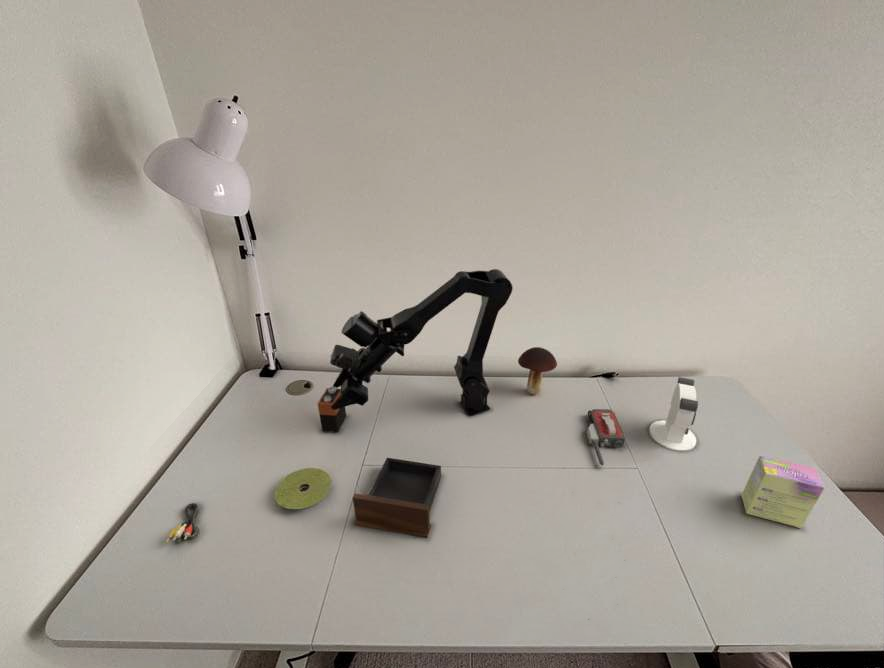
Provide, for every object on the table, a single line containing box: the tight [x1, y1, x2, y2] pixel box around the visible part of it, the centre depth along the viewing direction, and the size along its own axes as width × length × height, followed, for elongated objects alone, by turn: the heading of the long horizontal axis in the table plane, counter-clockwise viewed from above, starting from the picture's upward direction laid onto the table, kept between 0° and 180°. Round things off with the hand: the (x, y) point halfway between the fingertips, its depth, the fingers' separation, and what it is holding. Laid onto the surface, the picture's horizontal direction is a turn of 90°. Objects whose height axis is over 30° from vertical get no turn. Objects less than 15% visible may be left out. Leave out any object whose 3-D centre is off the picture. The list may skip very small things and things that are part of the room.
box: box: [741, 455, 826, 529], centre depth 90 cm, size 10×6×12 cm, turn 71°
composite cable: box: [165, 502, 200, 544], centre depth 85 cm, size 10×5×2 cm, turn 10°
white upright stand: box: [648, 376, 699, 452], centre depth 110 cm, size 12×11×15 cm
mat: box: [274, 467, 332, 510], centre depth 93 cm, size 11×11×2 cm
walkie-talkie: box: [586, 408, 626, 466], centre depth 110 cm, size 9×4×20 cm
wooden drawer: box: [352, 457, 442, 539], centre depth 91 cm, size 16×15×7 cm
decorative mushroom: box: [517, 346, 558, 395], centre depth 125 cm, size 11×11×15 cm
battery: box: [317, 386, 347, 433], centre depth 111 cm, size 4×7×10 cm, turn 176°
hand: (333, 397), depth 109 cm, fingers open, 9 cm apart
